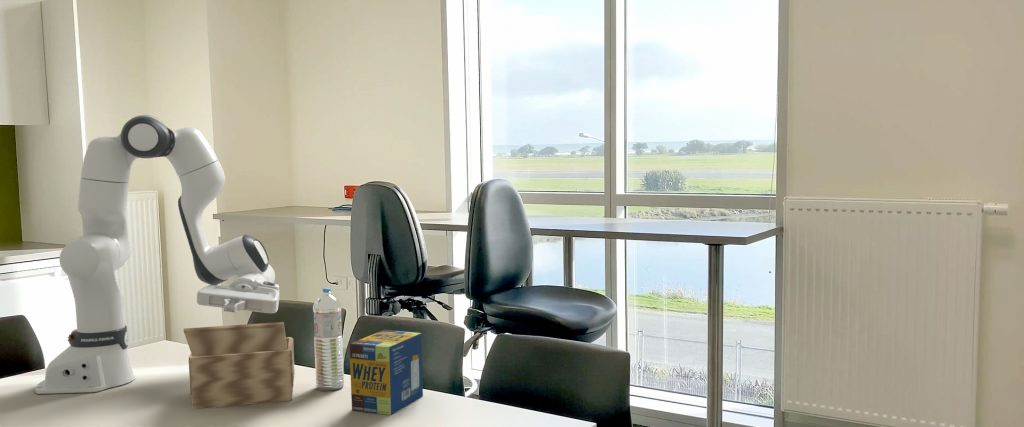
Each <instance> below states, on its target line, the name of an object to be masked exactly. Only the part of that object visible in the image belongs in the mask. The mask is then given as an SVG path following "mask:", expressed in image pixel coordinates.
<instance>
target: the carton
mask: <svg viewBox="0 0 1024 427" xmlns="http://www.w3.org/2000/svg"><path fill="white" fill-rule="evenodd" d="M286 344H287V350H275V351H262V352H248V353H235V354H221V355H208V356H194V357H193V356H192V354H191V353H190V355H189V356H188V371H189V372H188V374H189V376H188V377H189V394H190V397H191V404H192V405H191V407H192V410H199V409H201V410H202V409H208V408H209V409H211V408H220V407H233V406H243V405H245V406H246V405H255V404H266V403H277V402H278V403H279V402H289V401H292V400H293V392H294V381H295V374H296V373H295V371H296V370H295V354H294V353H295V350H294V349H295V348H294V346H295V345H294V338H293V337H292V336H291V337H290V336H288V337H286Z"/></svg>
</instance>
